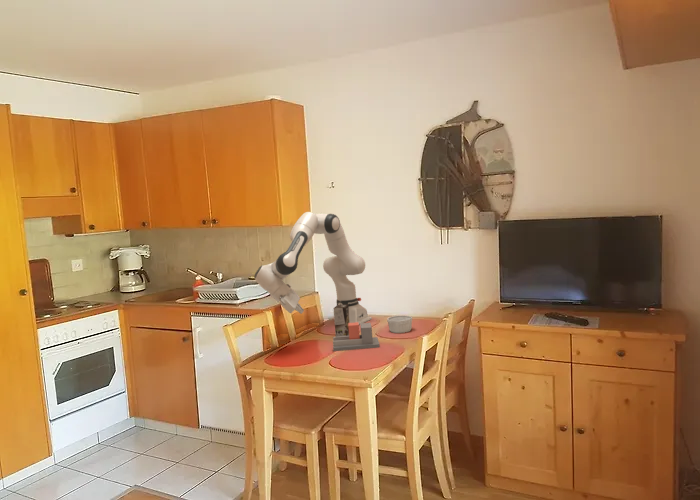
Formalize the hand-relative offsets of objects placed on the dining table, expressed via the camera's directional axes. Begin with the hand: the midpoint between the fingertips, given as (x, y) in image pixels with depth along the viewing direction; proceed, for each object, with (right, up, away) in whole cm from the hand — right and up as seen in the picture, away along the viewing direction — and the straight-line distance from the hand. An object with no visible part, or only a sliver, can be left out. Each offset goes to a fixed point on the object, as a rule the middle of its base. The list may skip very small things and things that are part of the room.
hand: (302, 312), depth 270 cm
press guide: (+26, -16, 0) cm, 31 cm away
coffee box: (+20, -15, +20) cm, 32 cm away
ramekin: (+50, -13, +23) cm, 56 cm away
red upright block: (+25, -15, 0) cm, 29 cm away
